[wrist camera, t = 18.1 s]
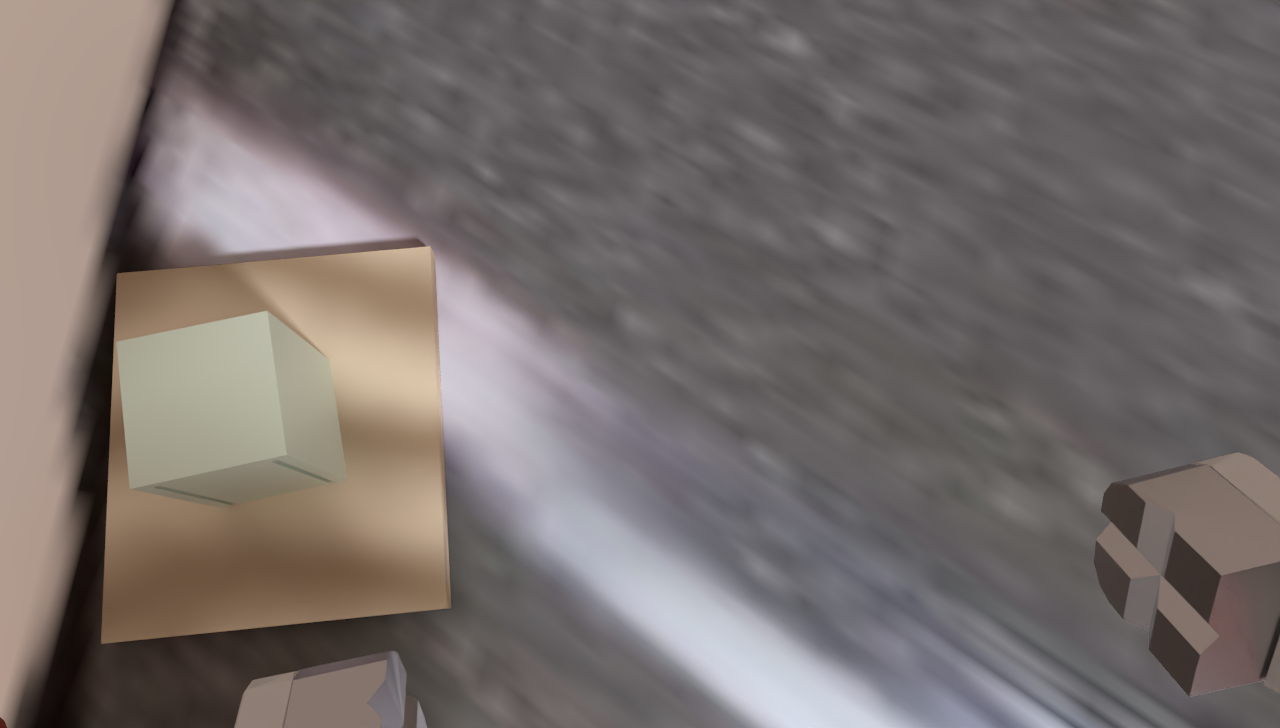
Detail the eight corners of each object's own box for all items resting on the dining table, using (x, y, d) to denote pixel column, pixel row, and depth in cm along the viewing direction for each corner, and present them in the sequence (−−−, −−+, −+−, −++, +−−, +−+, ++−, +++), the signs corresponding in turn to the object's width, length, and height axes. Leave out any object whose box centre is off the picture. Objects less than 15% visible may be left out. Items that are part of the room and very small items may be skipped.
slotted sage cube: (347, 479, 39) (286, 454, 32) (219, 507, 38) (129, 488, 31) (329, 360, 40) (267, 310, 33) (205, 386, 40) (116, 341, 33)
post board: (451, 608, 38) (420, 610, 33) (114, 642, 38) (21, 651, 32) (434, 254, 42) (404, 200, 36) (128, 280, 42) (48, 230, 36)
